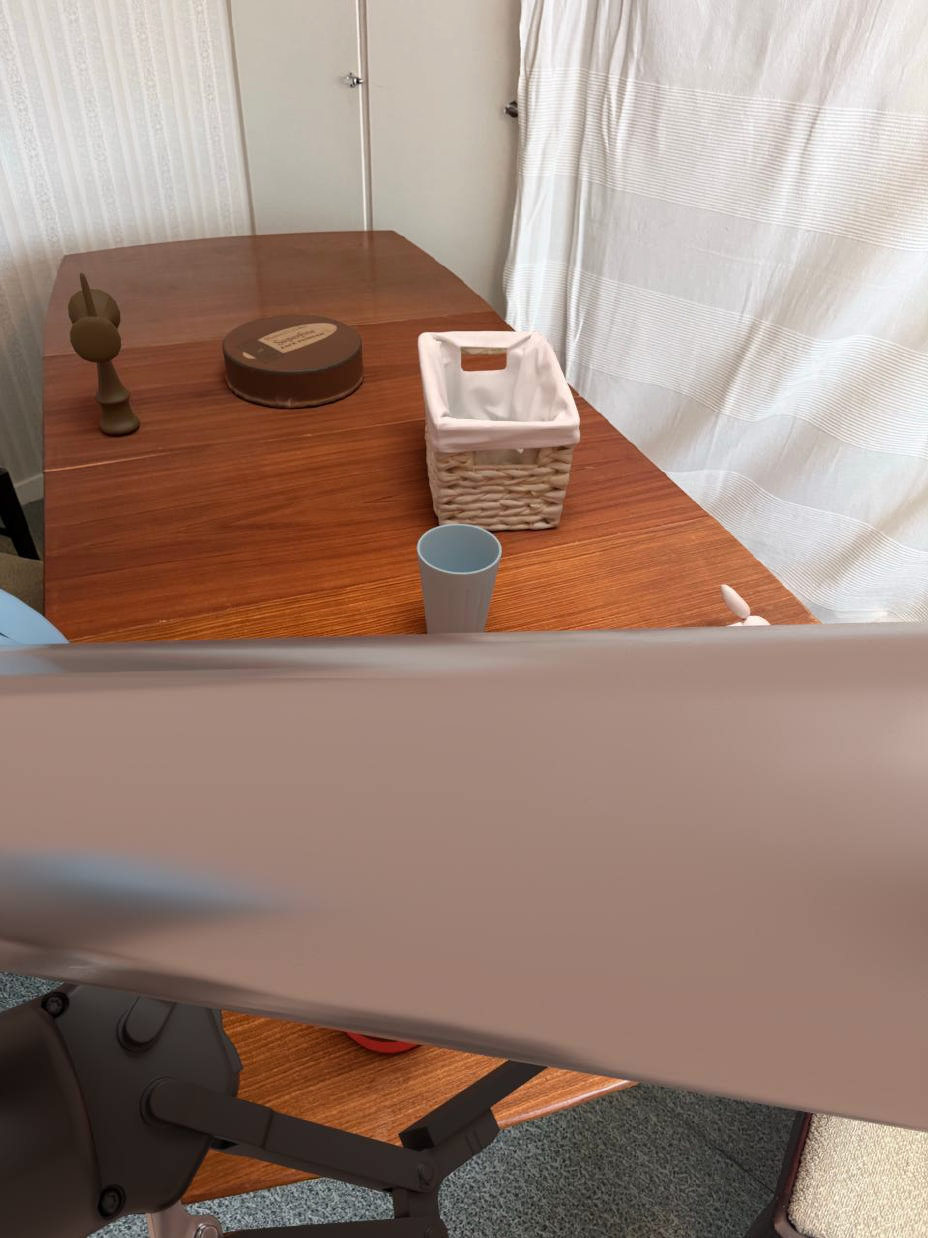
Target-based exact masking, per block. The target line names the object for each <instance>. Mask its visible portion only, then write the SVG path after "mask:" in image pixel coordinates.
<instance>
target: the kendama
mask: <svg viewBox="0 0 928 1238" xmlns="http://www.w3.org/2000/svg"><path fill="white" fill-rule="evenodd" d="M79 281H80V286H81V290H78V291H77V292H75V293H74V294H73V295H71V297H70V299H69V302H68V304H67V310H68V311H67V313H68V317H69V319H70V322H71V324H72V325H71V327H70V330H69V342H70V345H71V346H72V348H73V351H74V352H75V353H76V354H77V355H78V356H79V358H81V359H83V360H84V361H88V362H90V363H96V371H97V386H98V387H97V391H95V394H94V400H95V402H96V403H98V405H99V406H100V409H101V410H100V411H101V418H100V420H99V424H98V426H99V428H100V430H101V431H102V432H103V433H106V434H107V435H115V436H116V435H125V434H129V433H132V432H134V431H136V429H138V428H139V427H140V422H141V421H140V418H139V417H138V415H137V414H135V412H133V410H132V408H131V405H130V397H131V392H130V390H129V389H128V388H127V387H125V386H124V385H123V383H122V382H121V380H120V378H119V376H118V373H117V371H116V369H115V366H114V364H113V361H112V360H113V359H115V358H116V357H118V355H119V353H120V351H121V348H122V337H121V334H120V332H119V330H118V329H119V327H120V324H121V321H122V320H121V310H120V308H119V306H118V304H117V303H118V302H117V301H116V300H115V299H114V298H113V297H112V296H111V294H109V293H107V292H106V291H103V290H101V289H95V288H90V286H89V282H88V279H87V277H86V275H85V273H84V272H80V274H79Z"/></svg>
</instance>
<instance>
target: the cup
mask: <svg viewBox="0 0 928 1238" xmlns="http://www.w3.org/2000/svg"><path fill="white" fill-rule="evenodd" d="M502 552H503V548H502V544H501V543H500V541H499V539H498V538H497V536H495V535H494V534H493V533H491V532H490V531H489V530H484V529H482V528H480V527H476V526H473V525H467V524H447V525H442V526H436V527H433V528H431V529H429V530H427V531H426V532H425V533H423V534H422V536H421V537H420V538H419V539H418V541H417V545H416V553H417V561H418V569H419V576H420V584H421V585H420V586H421V593H422V600H423V608H424V615H425V616H424V617H425V624H426V632H427V634H448V633H485V629H486V625H487V620H488V616H489V611H490V606H491V603H492V597H493V594H494V589H495V584H496V579H497V575H498V572H499V566H500V564H501V557H502Z"/></svg>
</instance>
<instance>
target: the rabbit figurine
mask: <svg viewBox="0 0 928 1238" xmlns="http://www.w3.org/2000/svg"><path fill="white" fill-rule="evenodd" d="M720 594H721V598H722V600H723V602H724V604H725V605H726V606H727V608H728V609H730V611H731V612H732V613H733V614H735V615H736V616H738V618H741V619H745V620H744V621H743V622H742V621H739V622H736V623H732V624H729V625H728V626H758V625H771V624H770V622H769V621H768V620H767V619H766V618H763V617H761V616H759V615H751V608H750V606H749V604H748V603H747V602H746V601H745V600H744V599H743V598H742V597H741V595H739V593H738V592H737V591H736V590H735V589H733V588H732V587H731V586H729V585H727V584H721V585H720Z"/></svg>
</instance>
